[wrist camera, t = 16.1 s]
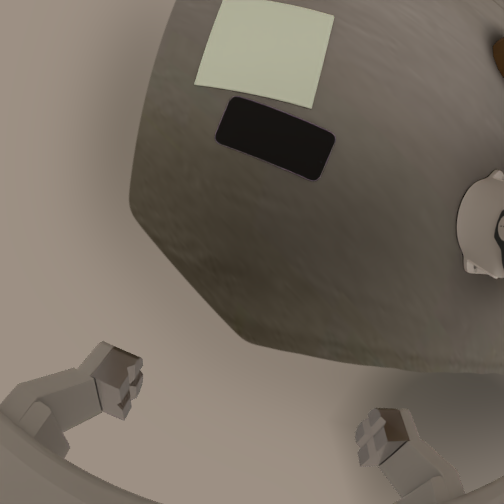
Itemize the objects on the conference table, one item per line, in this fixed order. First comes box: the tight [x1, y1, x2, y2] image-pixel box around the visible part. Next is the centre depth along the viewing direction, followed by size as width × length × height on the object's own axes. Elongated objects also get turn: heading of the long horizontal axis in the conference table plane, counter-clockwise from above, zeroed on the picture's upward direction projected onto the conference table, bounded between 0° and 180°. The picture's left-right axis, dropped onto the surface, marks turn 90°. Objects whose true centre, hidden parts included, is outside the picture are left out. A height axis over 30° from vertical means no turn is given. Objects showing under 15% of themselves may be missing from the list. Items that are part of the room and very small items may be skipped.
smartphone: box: [215, 96, 336, 181], centre depth 34 cm, size 7×1×15 cm
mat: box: [194, 0, 334, 109], centre depth 29 cm, size 16×16×1 cm
